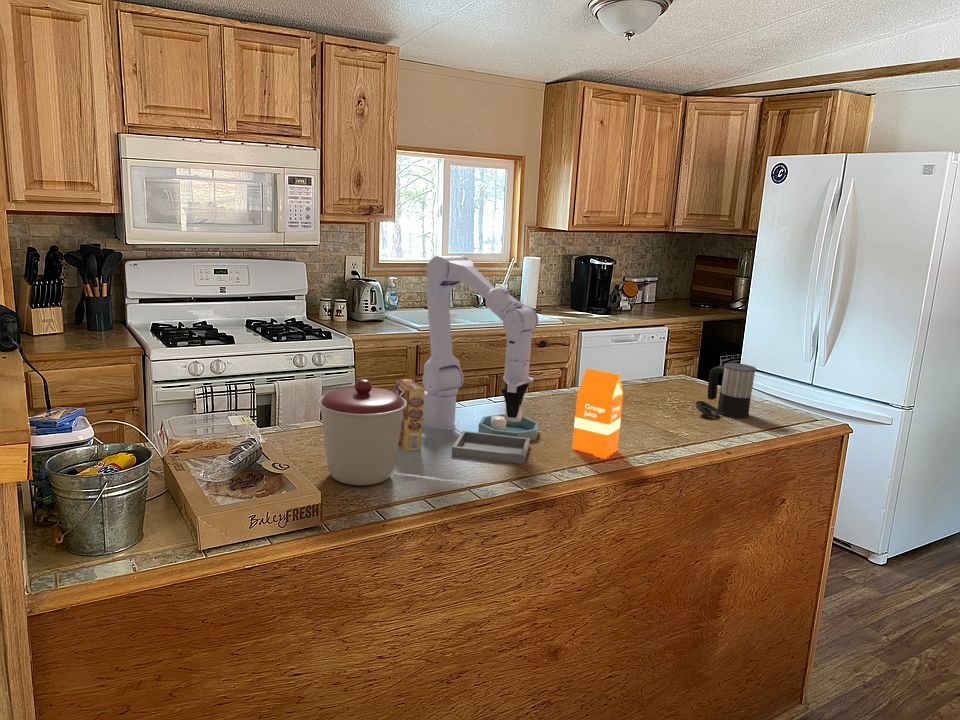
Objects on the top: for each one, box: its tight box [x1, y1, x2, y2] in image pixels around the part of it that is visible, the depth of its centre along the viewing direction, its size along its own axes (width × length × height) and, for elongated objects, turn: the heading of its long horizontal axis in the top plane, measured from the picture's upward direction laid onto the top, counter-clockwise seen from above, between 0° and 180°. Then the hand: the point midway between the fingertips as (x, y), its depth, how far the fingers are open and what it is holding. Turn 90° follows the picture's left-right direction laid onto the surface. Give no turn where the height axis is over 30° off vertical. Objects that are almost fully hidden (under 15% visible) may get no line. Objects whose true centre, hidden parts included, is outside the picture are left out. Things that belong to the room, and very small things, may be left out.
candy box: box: [395, 378, 426, 451], centre depth 173 cm, size 9×4×15 cm, turn 26°
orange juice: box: [571, 368, 624, 460], centre depth 177 cm, size 8×9×20 cm
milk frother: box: [695, 362, 757, 419], centre depth 217 cm, size 14×16×15 cm
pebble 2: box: [504, 404, 524, 422], centre depth 174 cm, size 4×4×4 cm
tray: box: [451, 430, 531, 465], centre depth 173 cm, size 17×13×2 cm
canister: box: [317, 378, 407, 486], centre depth 152 cm, size 18×18×21 cm
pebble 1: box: [491, 416, 507, 431], centre depth 187 cm, size 4×4×4 cm
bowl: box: [477, 413, 540, 442], centre depth 187 cm, size 15×15×3 cm
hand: (513, 414), depth 174 cm, fingers closed on pebble 2, 4 cm apart
